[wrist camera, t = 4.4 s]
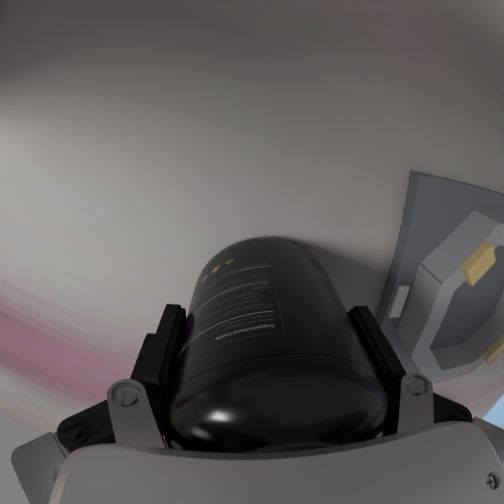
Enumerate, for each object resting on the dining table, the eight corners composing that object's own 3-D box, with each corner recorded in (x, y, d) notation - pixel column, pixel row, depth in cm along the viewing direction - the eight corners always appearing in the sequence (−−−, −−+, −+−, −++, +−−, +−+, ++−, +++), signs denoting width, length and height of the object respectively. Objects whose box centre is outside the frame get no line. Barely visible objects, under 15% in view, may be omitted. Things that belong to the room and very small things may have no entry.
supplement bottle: (348, 300, 15) (442, 506, 4) (250, 359, 16) (260, 556, 6) (276, 201, 12) (396, 515, 2) (168, 284, 14) (91, 527, 3)
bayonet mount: (410, 170, 12) (455, 187, 9) (535, 204, 13) (566, 221, 9) (354, 376, 18) (368, 415, 14) (479, 350, 18) (498, 374, 15)
